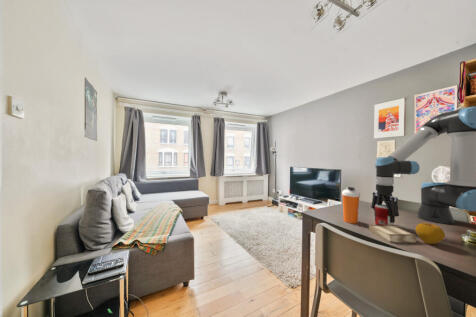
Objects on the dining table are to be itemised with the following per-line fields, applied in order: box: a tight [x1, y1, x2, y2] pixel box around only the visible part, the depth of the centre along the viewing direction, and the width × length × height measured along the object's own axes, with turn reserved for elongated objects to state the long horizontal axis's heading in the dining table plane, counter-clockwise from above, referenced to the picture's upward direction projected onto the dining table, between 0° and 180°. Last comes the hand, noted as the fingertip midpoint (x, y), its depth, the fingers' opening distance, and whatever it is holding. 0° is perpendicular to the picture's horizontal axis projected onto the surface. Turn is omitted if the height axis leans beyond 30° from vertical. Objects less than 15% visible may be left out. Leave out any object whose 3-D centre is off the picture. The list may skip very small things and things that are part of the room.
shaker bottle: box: [341, 186, 361, 225], centre depth 103 cm, size 9×9×20 cm
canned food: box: [374, 203, 389, 225], centre depth 97 cm, size 8×8×11 cm
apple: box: [415, 222, 446, 245], centre depth 77 cm, size 9×9×9 cm
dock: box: [368, 224, 417, 243], centre depth 84 cm, size 12×12×3 cm
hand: (383, 224), depth 97 cm, fingers closed on canned food, 8 cm apart
